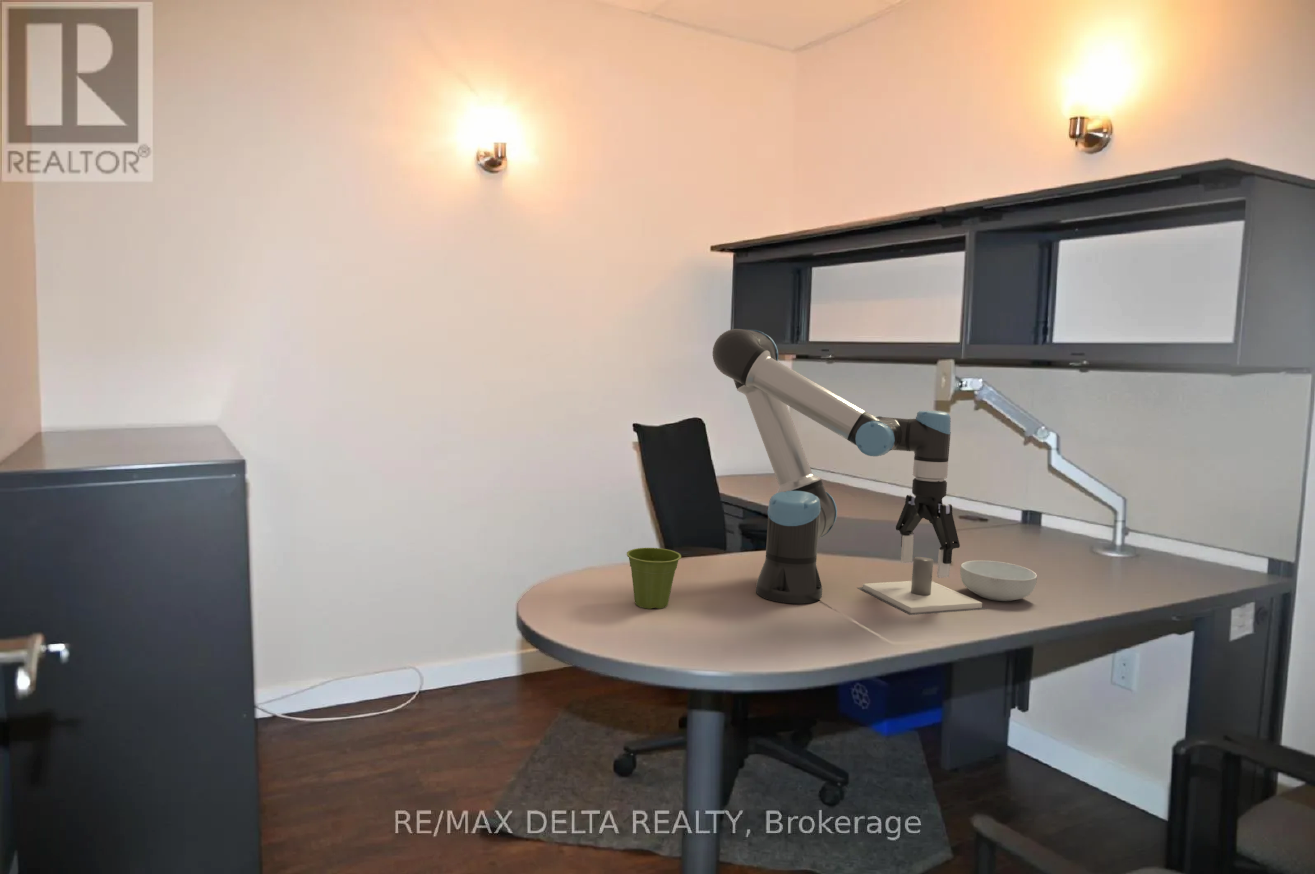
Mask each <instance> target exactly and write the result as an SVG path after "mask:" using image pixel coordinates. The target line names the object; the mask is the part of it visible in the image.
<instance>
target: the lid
mask: <svg viewBox="0 0 1315 874" xmlns="http://www.w3.org/2000/svg"><path fill="white" fill-rule="evenodd" d="M933 568H934V559H933V558H930V557H924V556H915V557H913V558H912V571H911V572H912V573H911V575H912V576H911V580H905V581H904V580H903V581H888V582H887V581H885V582H871V583H869V582H868V583H862V589H864V590H866V591H868V592H870V593H872V594H874V595H876V596H878V597H880V598H882V599H884V600H886V601H888V602H890V603H892V604H894V605H896V606H898V607H900V608H902V609H904V610H906V611H908V612H910V613H919V612H933V611H946V610H960V609H973V608H982V606H983V602H981V601H979V600H977V599H975V598H972V597H971V596H968V595H966V594H963V593H961V592H958V591H956V590H954V589H951V588H948V587H947V586H944V585H942V584H940V583H937V582H935V581H934V580H933V572H934V571H933V570H934V569H933Z"/></svg>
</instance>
